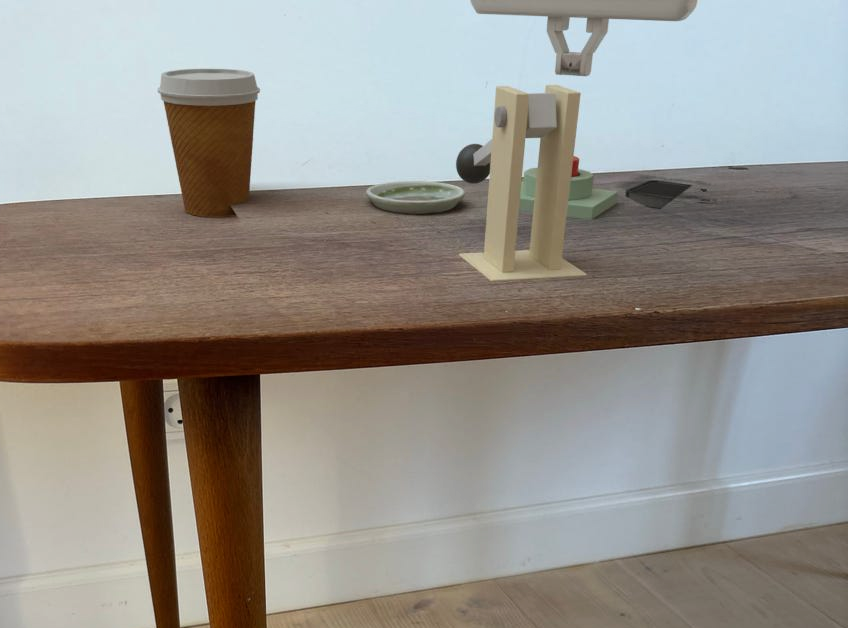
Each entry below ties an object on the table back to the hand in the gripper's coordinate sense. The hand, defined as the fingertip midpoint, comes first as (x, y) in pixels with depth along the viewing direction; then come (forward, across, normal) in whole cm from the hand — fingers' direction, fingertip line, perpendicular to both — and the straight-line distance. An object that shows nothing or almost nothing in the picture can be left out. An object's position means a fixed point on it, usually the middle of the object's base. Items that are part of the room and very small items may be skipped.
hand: (572, 75), depth 97 cm
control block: (+12, 0, 0) cm, 12 cm away
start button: (+9, 0, 0) cm, 9 cm away
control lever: (+5, +1, -18) cm, 19 cm away
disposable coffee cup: (+12, -30, -15) cm, 36 cm away
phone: (+13, +12, +12) cm, 21 cm away
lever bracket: (+12, +4, -22) cm, 26 cm away
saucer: (+12, -12, -7) cm, 19 cm away
